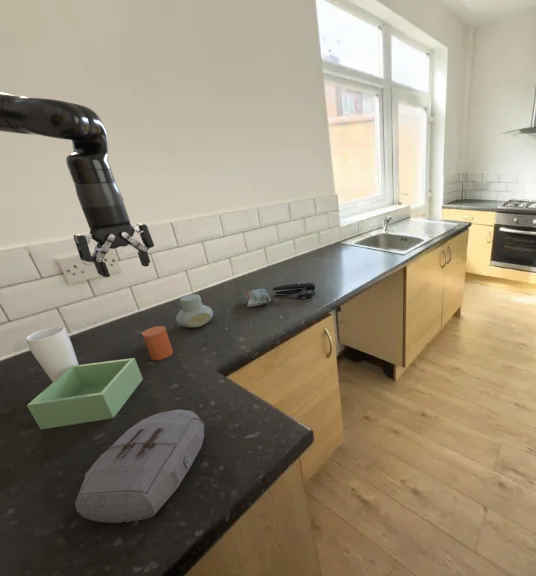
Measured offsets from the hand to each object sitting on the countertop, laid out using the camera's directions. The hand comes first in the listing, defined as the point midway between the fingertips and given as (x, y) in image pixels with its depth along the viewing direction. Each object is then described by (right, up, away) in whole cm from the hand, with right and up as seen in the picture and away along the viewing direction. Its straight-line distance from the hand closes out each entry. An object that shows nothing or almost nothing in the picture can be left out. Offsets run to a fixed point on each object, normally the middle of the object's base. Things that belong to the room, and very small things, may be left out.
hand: (126, 271), depth 78 cm
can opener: (+27, -7, +52) cm, 59 cm away
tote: (-4, -31, -3) cm, 31 cm away
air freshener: (-1, -17, +31) cm, 35 cm away
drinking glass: (-17, -29, +3) cm, 33 cm away
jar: (-1, -24, +14) cm, 28 cm away
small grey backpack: (+22, -37, -20) cm, 48 cm away
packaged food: (+14, -10, +45) cm, 49 cm away
